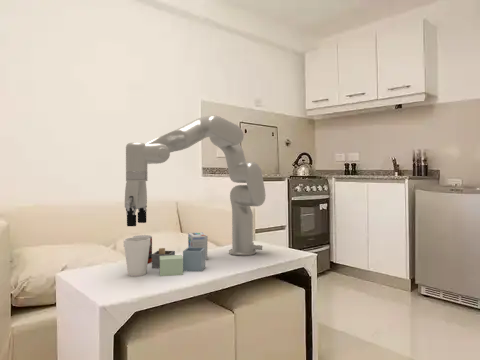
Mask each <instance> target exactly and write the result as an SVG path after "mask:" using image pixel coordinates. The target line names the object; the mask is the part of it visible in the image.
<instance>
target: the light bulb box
mask: <svg viewBox="0 0 480 360" xmlns="http://www.w3.org/2000/svg"><path fill="white" fill-rule="evenodd" d="M187 234H188V235H187V236H188V239H187V240H188V241H187V242H188V243H187V244H188V246H187V248H188V247H190V248H205V261H208V242H209V241H208V238H209V237H208V236H209V235H207V234H206V233H204V232H201V231H200V232H189V233H187Z"/></svg>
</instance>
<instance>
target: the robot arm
mask: <svg viewBox="0 0 480 360" xmlns="http://www.w3.org/2000/svg"><path fill="white" fill-rule="evenodd" d="M244 136H245V135H244V131H243V129H242V128H241V126H239V125H237V124H235V123H234V122H232V121H229V120H227V119H225V118H223V117H221V116H218V115H216V114H215V115H213V114H211V115H207V116H202V117H199V118H196V119H194V120H192V121H190V122H189V123H186V124H185V125H183V126H180V127H178V128H177V129H174V130H171V131H170V132H167V133H165V134H163V135H160V136H159V137H156V138H153V139H152V140H150V141H147V142H146V143H144V142H129V143H128V142H127V144H126V146H125V182H126V183H125V189H124V208H125V211H126V227H137V223H138V224H146V223H147V211H148V209H147V207H148V205H147V204H148V191H147V182H148V181H149V180H148V165H153V164H155V165H157V164H163V163H165V162H167V161H168V160H169V159H170V156H171V153H174V152H178V151H183V150H185V149H188V148H190V147H192V146H194V145H195V144H198V143H199V142H200V141H203V140H204V139H206V138H209V140H210V142H211V143H212V144H213V145H214V146H216V147H218V148H219V149H220V150H221V151H222V152H223V154H224V157H225V162H226V165H227V171H228V175H229V179H230V181H232V182H233V183H237V184H238V183H239V184H238V185H235V186H233V187H232V188H231V190H230V192H229V193H230V194H229V200H230V204H231V205H230V206H231V219H232V220H231V222H232V223H231V227H232V229H231V230H232V231H231V232H232V233H231V234H232V235H231V239H232V241H231V243H232V245H231V246H232V247H231V249H228V253H229V254H230V255H232V256H251V255H252V256H253V255H255V254H256V253H257V251H258V250H259V251H262V250H263V245H260V244H254V243H255V242H254V240H253V239H254V236H253V233H254V232H253V228H254V227H253V226H254V224H253V222H254V221H253V218H254V216H253V215H254V214H253V211H252V208H251V207H260V206H262V205H264V203H265V200H266V188H265V182H264V176H263V172H262V169H261V166H260V165H259V164H258V163H257V162H255V161H246V157H245V153H244V150H243V147H242V146H241V143H242V142H243V140H244ZM137 210H138V211H137ZM136 212H137V214H136Z"/></svg>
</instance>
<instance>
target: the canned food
mask: <svg viewBox="0 0 480 360" xmlns="http://www.w3.org/2000/svg"><path fill="white" fill-rule="evenodd" d="M132 237H148V238H150V248H149V256H148V264H152V254H153V236H152V235H148V234H147V235H146V234H141V235H140V234H139V235H134V236H132Z"/></svg>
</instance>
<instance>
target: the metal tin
mask: <svg viewBox="0 0 480 360" xmlns="http://www.w3.org/2000/svg"><path fill="white" fill-rule="evenodd" d="M168 255H176V252H175V250H165V254H159V250H156V251H155V252H152V262H151V269H160V256H168Z"/></svg>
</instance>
